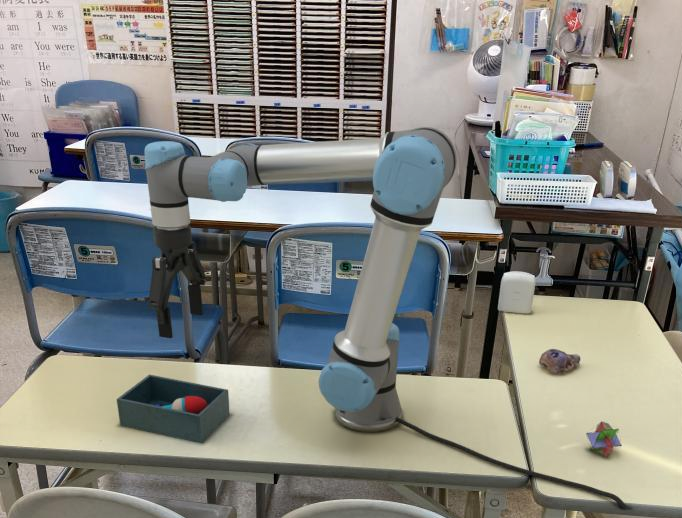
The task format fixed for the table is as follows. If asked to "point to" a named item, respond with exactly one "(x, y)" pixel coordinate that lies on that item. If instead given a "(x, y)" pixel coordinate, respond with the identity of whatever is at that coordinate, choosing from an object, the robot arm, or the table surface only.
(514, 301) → the photo printer
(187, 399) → the toy figure
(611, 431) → the geometric puzzle
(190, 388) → the tote
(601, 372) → the table surface
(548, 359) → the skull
